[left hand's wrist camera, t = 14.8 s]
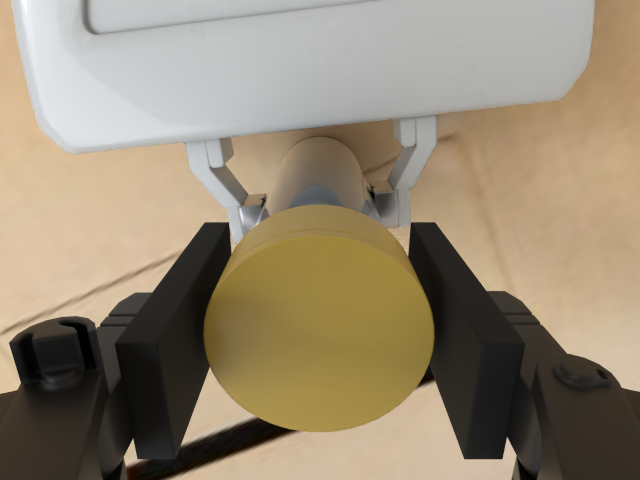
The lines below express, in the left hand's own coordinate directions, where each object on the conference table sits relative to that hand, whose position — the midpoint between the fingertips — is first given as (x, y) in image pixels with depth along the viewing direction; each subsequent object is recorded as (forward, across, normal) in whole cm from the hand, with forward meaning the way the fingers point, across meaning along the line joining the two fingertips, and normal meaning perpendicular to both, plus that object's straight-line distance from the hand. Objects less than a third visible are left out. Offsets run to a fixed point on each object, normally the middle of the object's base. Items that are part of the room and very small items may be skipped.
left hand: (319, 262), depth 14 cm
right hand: (+5, 0, -1) cm, 5 cm away
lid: (-4, 0, 0) cm, 4 cm away
